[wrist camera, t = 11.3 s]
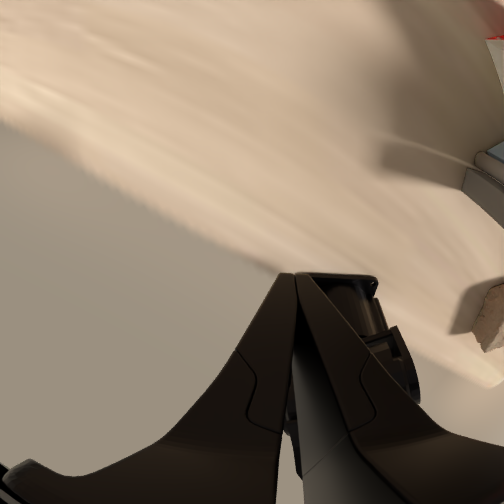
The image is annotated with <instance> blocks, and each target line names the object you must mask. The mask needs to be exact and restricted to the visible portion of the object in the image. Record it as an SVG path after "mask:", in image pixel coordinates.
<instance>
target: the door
mask: <svg viewBox="0 0 504 504" xmlns="http://www.w3.org/2000/svg"><path fill="white" fill-rule="evenodd" d="M487 153H488V155H487V154H486V153H484V152H479V153H478V154H477V155H476V157H475V164H476V166H477V167H478V168H479V169H481V170H482V171H484V172H485V173H487V174H488V175H490V176H491V177H493V178H494V179H496V180H497V181H499V182H500V183H501V184H503V185H504V141H503V142H501V143H500V144H498V145H496V146H494V147H493V148H491V149H489V150H487Z"/></svg>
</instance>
